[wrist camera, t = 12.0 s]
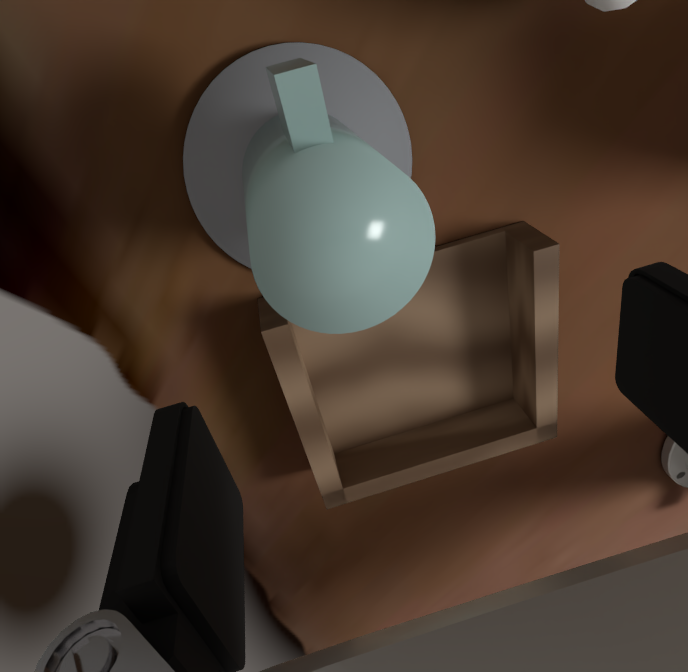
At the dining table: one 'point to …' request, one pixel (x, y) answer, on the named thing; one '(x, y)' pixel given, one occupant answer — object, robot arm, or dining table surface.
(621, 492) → the dining table surface
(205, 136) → the mat
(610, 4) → the white decorative knot
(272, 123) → the jug
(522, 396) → the holder
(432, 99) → the dining table surface
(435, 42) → the dining table surface
